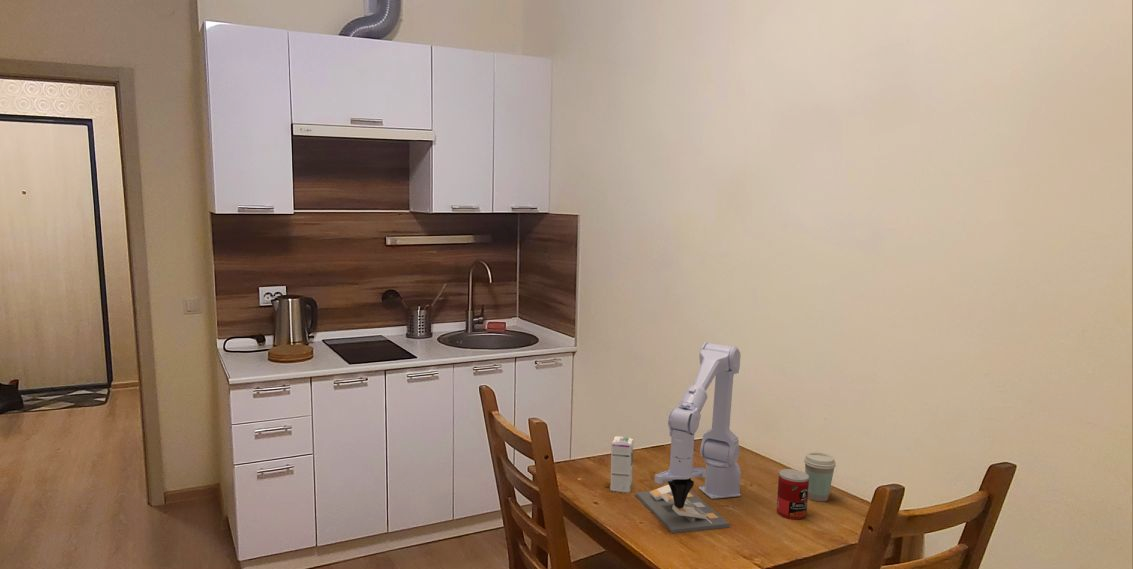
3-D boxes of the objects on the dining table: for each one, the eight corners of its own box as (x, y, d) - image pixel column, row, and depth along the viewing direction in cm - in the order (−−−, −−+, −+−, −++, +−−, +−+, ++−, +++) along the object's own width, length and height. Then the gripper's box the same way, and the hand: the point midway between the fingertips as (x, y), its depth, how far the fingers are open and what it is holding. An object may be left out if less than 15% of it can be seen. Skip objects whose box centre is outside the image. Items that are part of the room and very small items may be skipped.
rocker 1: (676, 484, 203) (675, 481, 203) (682, 490, 199) (681, 486, 199) (650, 495, 201) (649, 491, 201) (656, 500, 197) (655, 496, 197)
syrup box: (629, 493, 205) (632, 443, 203) (609, 490, 206) (611, 441, 204) (632, 485, 210) (634, 437, 209) (612, 483, 211) (614, 435, 210)
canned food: (791, 521, 190) (794, 481, 188) (769, 510, 197) (772, 471, 195) (812, 517, 193) (815, 477, 192) (790, 505, 200) (793, 467, 199)
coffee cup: (837, 497, 207) (841, 457, 206) (825, 506, 201) (828, 464, 199) (809, 489, 213) (812, 449, 211) (796, 497, 206) (799, 456, 205)
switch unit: (687, 491, 208) (687, 484, 207) (729, 527, 185) (729, 519, 185) (635, 495, 203) (635, 488, 203) (672, 533, 180) (672, 525, 180)
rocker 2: (686, 503, 197) (687, 498, 197) (693, 509, 193) (694, 504, 193) (661, 496, 194) (662, 492, 194) (667, 502, 190) (668, 498, 190)
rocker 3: (698, 512, 190) (699, 508, 190) (706, 518, 186) (707, 514, 186) (672, 508, 187) (673, 504, 187) (678, 514, 184) (680, 510, 184)
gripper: (695, 447, 191) (693, 496, 192) (649, 453, 185) (646, 504, 186) (712, 455, 185) (709, 507, 186) (664, 462, 178) (661, 515, 180)
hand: (678, 506), depth 186 cm, fingers closed
